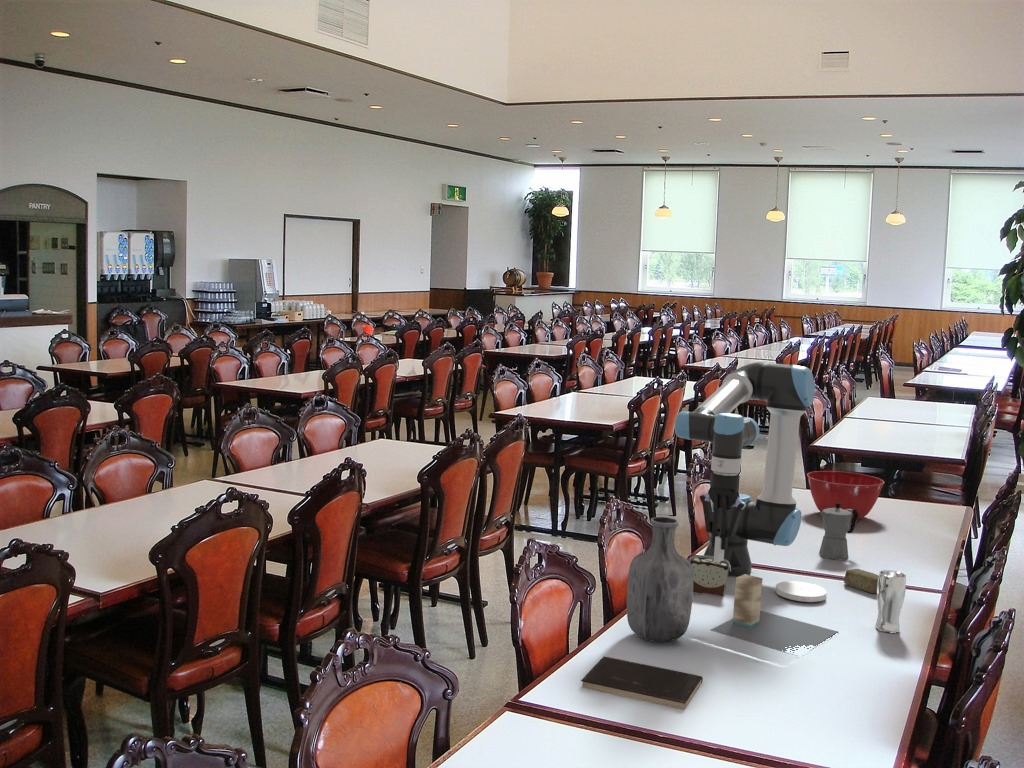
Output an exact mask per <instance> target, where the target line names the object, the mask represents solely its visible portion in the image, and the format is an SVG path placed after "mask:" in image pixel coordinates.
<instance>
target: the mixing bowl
mask: <svg viewBox="0 0 1024 768" xmlns="http://www.w3.org/2000/svg"><path fill="white" fill-rule="evenodd" d="M806 476H807V480H808V485H809V490H810V493H811V496H812V499H813V502H814V504H815V507H816V508H817V510H818V511H819V512H820V513H821V512H822V510H823V509H827V508H836V504H835V503H840V508H841V509H844V510H846V509H856V511H857V512H858V514H859V516H858V519H857V521H859V520H861V519H862V518H864V517H866V516H867V515H868V514H869V513H870V512H871V510H872V509H873V507H874V506H875V504H876V502H877V501H878V499H879V496H880V494H881V492H882V489H883V486H884V484H885V481H884V480H883V479H881V478H880V477H876V476H874V475H873V476H871V475H869V474H868V475H867V474H863V473H856V472H850V471H839V470H838V471H836V470H819V471H817V470H815V471H810V472H808V473H806ZM853 516H854V515H853V514H852V517H851V521H852V520H853Z"/></svg>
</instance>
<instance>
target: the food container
mask: <svg viewBox="0 0 1024 768" xmlns="http://www.w3.org/2000/svg"><path fill="white" fill-rule="evenodd" d="M688 561H689V562H690V564H691V565H692V569H693V594H697V595H703V594H708V595H713V596H717V597H718V596H720V597H724V596H725V594H726V593H725V591H726V588H727V587H726V586H727V583H728V581H727V580H728V576H729V575H728V571H729V569H730V572H731V566H730V563H729V561H727V560H726V559H724V560H723V561H720V562H716V561H714V556H706V555H704V554H703V555H694V556H690V557H689V559H688Z"/></svg>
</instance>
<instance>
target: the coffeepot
mask: <svg viewBox="0 0 1024 768" xmlns="http://www.w3.org/2000/svg"><path fill="white" fill-rule="evenodd" d="M835 504H836V508H827V509H823V510H822V512H820V516H822V524H823V525H822V527H823V531H824V535H823V537H822V541H821V545H820V548H819V550H818V551H819V552H818V554H819V556H820V557H822V556H823V557H822V558H824V557H827V558H826V559H828V558H831V559H830V560H834V559H844V560H847V559H848V558H849V551H848V539H847V534H852V533H853V532H854V529H855V527H856V523H857V521H858V520H857V519H858V516H859V514H858V512H857V511H856V509H846V510H844V509H841V508H840V503H835ZM852 514H853V515H854V516H853V520H851V517H852ZM846 558H847V559H846Z"/></svg>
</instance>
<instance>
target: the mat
mask: <svg viewBox="0 0 1024 768" xmlns="http://www.w3.org/2000/svg"><path fill="white" fill-rule="evenodd" d="M710 632H715V633H719V634H721V635H726V636H728V637H730V638H731V637H733V638H735V639H739V640H742V641H745V642H749V643H753V644H755V645H759V646H762V647H766V648H769V649H772V650H776V651H779V652H782V650H783V653H786V652H785V651H787V650H786V649H788V648H792V649H794V648H793V647H795V646H797V645H798V646H800V647H801V646H803V645H805V646H806V647H807V646H809V645H813V646H816V645H818V644H820V643H822V642H823V641H825V640H826V639H828V638H830V637H832V636H833V635H835V634H836V633H838V634H839V631H837V630H833V629H830V628H826V627H823V626H819V625H815V624H811V623H808V622H804V621H801V620H797V619H793V618H789V617H785V616H782V615H778V614H775V613H771V612H768V611H764V610H760V618H759V623H758V624H756V625H754V626H752V627H747V626H743V625H740V624H736V623H733V618H731V619H729V620H727V621H725V622H723V623H721V624H719V625H717V626H714V627H713V628H711V629H710ZM835 636H836V635H835ZM832 638H833V637H832ZM830 639H831V638H830ZM822 644H823V643H822ZM789 646H791V647H789ZM785 647H787V648H785ZM795 648H799V647H795ZM804 648H805V647H804ZM810 648H811V647H810ZM792 649H790V650H792ZM807 649H809V648H807ZM796 650H798V649H796ZM792 651H795V650H792ZM790 652H791V651H790ZM793 653H794V652H793Z"/></svg>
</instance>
